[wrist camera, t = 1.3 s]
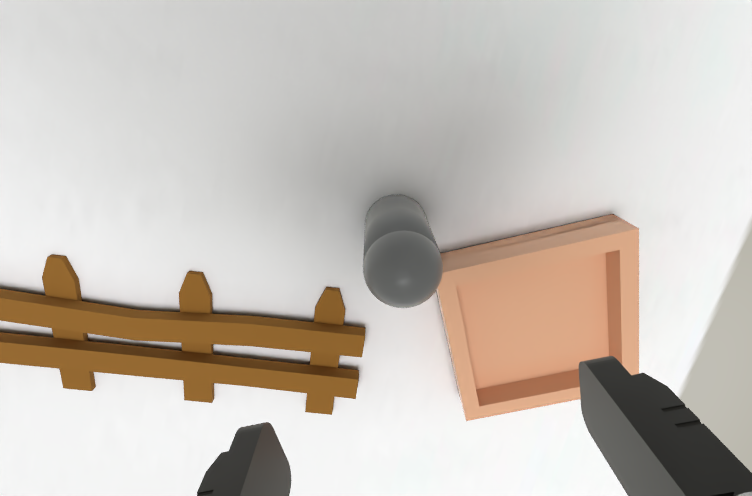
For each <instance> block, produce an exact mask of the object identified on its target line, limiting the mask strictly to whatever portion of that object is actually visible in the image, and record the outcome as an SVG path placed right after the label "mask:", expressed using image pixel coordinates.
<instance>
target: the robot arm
mask: <svg viewBox="0 0 752 496" xmlns="http://www.w3.org/2000/svg"><path fill="white" fill-rule="evenodd" d="M579 382H580V396H581V409H582V414H583V418H584V421H585V424H586V426H587V428H588V431H589V433H590V434H591V436H592V438H593V439H594V441H595V443H596V444H597V446H598V448H599V449H600V451H601V452H602V454H603V456H604V457H605V459H606V460H607V462H608V464H609V465H610V467H611V469H612V470H613V472H614V473H615V475H616V477H617V478H618V480H619V481H620V483H621V485H622V486H623V488H624V490H625V491H626V493H627V494H628V496H752V473H751V472H750V471H749V470H748V469H747V468H746V467H745V466H744V465H743V464H742V463H741V462H740V461H739V460H738V459H737V458H736V457H735V455H733V454H732V452H730V450H728V448H727V447H726V446H725V445H724V444H723V443H722V442H721V441H720V440H719V439H718V438H717V437H716V436H715V435H714V434H713V433H712V432H711V431H710V430H709V429H708V428H707V427H706V426H705V425H704V424H701V422H700V420H699V419H698V417H697V416H695V414H694V413H693V412H692V411H691V410H690V409H689V408H686V407H685V404H684V403H683V402H682V401H681V400H680V399H679V398H678V397H677V396H676V395H675V394H674V393H673V392H672V391H671V390H670V389H669V388H668V387H667V386H666V385H664V384H662V383H660V382H659V381H657V380H655V379H653V378H652V377H650V376H648V375H646V374H645V373H640V374H635V375H631V374H630V373H629V372H628V371H627V370H626V369H625V368H624V367H623V365H622V364H621V363H620V362H619V361H618V360H617V359H616V358H615V357H613V356H607V357H602V358H597V359H591V360H586V361H581V362H580V363H579ZM290 488H291V471H290V466H289V463H288V460H287V458H286V456H285V453H284V451H283V449H282V447H281V444H280V442H279V440H278V438H277V435H276V433H275V431H274V429H273V427H272V425H271V424H270V423H268V422H266V423H261V424H256V425H251V426H246V427H241V428H239V429H238V431H237V432H236V434H235V437H234V439H233V442H232V445H231V447H230V450H229V451H228V452H223V453H221V454H220V455H219V456H218V458H217V459H216V460H215V461H214V463H213V464H212V465H211V466H210V468H209V469H208V470H207V471H206V473H205V476H204V478H203V480H202V483H201V485H200V487H199V490H198V492H197V496H289V493H290Z"/></svg>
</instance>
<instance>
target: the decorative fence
mask: <svg viewBox="0 0 752 496" xmlns="http://www.w3.org/2000/svg"><path fill="white" fill-rule="evenodd" d="M42 280H43V285H44V290H45V295H46V296H45V295H38V294H32V293H25V292H19V291H12V290H6V289H0V320H1V321H8V322H14V323H21V324H28V325H35V326H42V327H48V328H52V332H53V337H54V338H52V337H42V336H32V335H22V334H12V333H2V332H0V363H9V364H19V365H29V366H40V367H50V368H60V373H61V378H62V383H63V388H67V389H77V390H87V391H92V390H93V389H94V388H95V387H96V386H95V379H94V373H93V372H102V373H112V374H122V375H133V376H143V377H154V378H165V379H176V380H183V381H184V400H189V401H199V402H209V403H212V402H213V400H214V383H219V384H230V385H241V386H250V387H259V388H267V389H276V390H284V391H293V392H301V393H307V400H306V411H305V412H311V413H321V414H331V415H332V410H333V402H334V396H336V397H344V398H353V399H356V393H357V386H358V379H359V370H351V369H342V368H338V363H339V355H344V356H354V357H362V353H363V347H364V340H365V328H363V327H353V326H344V325H343V323H344V315H345V307H344V303H343V300H342V296H341V293H340V289H339V288H331V287H326V288H325V290H324V292H323V294H322V296H321V297H320V299H319V301H318V303H317V305H316V307H315V315H314V322H306V321H297V320H287V319H278V318H268V317H259V316H245V315H226V314H213V311H212V292H211V290H210V288H209V285H208V283H207V281H206V278H205V276H204V274H203V272H196V271H189V272H188V273H187V275H186V277H185V280H184V282H183V285H182V287H181V289H180V292H179V304H180V312H168V311H148V310H136V309H129V308H123V307H116V306H110V305H103V304H97V303H90V302H84V301H82V297H81V291H80V284H79V278H78V277H77V275H76V273H75V271H74V270H73V268H72V266H71V264H70V262H69V261H68V259H67V257H66V256H60V255H50V256H48V257H47V260H46V264H45V268H44V272H43V276H42ZM87 333H89V334H96V335H103V336H110V337H116V338H123V339H130V340H140V341H160V342H180V343H182V351H177V350H168V349H159V348H150V347H141V346H131V345H121V344H111V343H101V342H91V341H88V335H87ZM213 344H221V345H241V346H256V347H265V348H275V349H285V350H295V351H305V352H311V358H310V365H305V364H296V363H287V362H278V361H268V360H259V359H250V358H241V357H232V356H223V355H214V354H213Z"/></svg>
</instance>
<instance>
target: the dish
mask: <svg viewBox="0 0 752 496" xmlns="http://www.w3.org/2000/svg"><path fill="white" fill-rule="evenodd" d="M441 258H442V263H443V273H442V279H441V282H440V284H439V286H438V288H437V290H436V291H437V296H438V300H439V305H440V309H441V314H442V319H443V323H444V328H445V332H446V337H447V341H448V346H449V351H450V355H451V360H452V364H453V369H454V374H455V378H456V383H457V387H458V392H459V396H460V400H461V403H462V407H463V410H464V414H465V418H466V421H468V420H474V419H479V418H484V417H489V416H494V415H500V414H505V413H510V412H515V411H520V410H526V409H531V408H536V407H541V406H546V405H552V404H557V403H562V402H567V401H572V400H577V399H581V396H580V382H579V363H580V362H581V361H586V360H591V359H597V358H602V357H607V356H613V357H615V358H616V359H617V360H618V361H619V362H620V363H621V364H622V365H623V367H624V368H625V369H626V370H627V371H628V372H629V373H630V374H631V375H635V374H639V228H637V227H635V226H633V225H632V224H630V223H628V222H626V221H625V220H623V219H621V218H619V217H617V216H616V215H614V214H611V215H607V216H602V217H598V218H593V219H589V220H585V221H580V222H576V223H572V224H567V225H563V226H559V227H554V228H550V229H546V230H541V231H537V232H532V233H528V234H524V235H519V236H515V237H511V238H506V239H502V240H498V241H493V242H489V243H484V244H480V245H476V246H471V247H467V248H463V249H458V250H454V251H450V252H445V253H441Z"/></svg>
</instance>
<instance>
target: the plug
mask: <svg viewBox="0 0 752 496" xmlns="http://www.w3.org/2000/svg"><path fill="white" fill-rule="evenodd" d="M363 273H364V278H365V281H366V284H367V286H368V288H369V290H370V291H371V292H372V294H373V295H374V296H375V297H376V298H377V299H379V300H380V301H382V302H383V303H385V304H387V305H390V306H393V307H398V308H409V307H413V306H417V305H419V304H421V303H423V302H425V301H426V300H428V299H429V298H430V297H431V296H432V295H433V294H434V293H435V291H436V290H437V288H438V286H439V284H440V282H441V279H442V273H443V263H442V258H441V254H440V252H439V249H438V247H437V244H436V242H435V239H434V236H433V234H432V231H431V229H430V226H429V223H428V221H427V218H426V216H425V213H424V211H423V209H422V207H421V206H420V205H419V204H418V203H417V202H416V201H415V200H413V199H412V198H410V197H407V196H404V195H388V196H385V197H383V198H381V199H379V200H378V201H376V202H375V203H374V204H373V205H372V206H371V208H370V209H369V211H368V213H367V216H366V220H365V239H364V259H363Z"/></svg>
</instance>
